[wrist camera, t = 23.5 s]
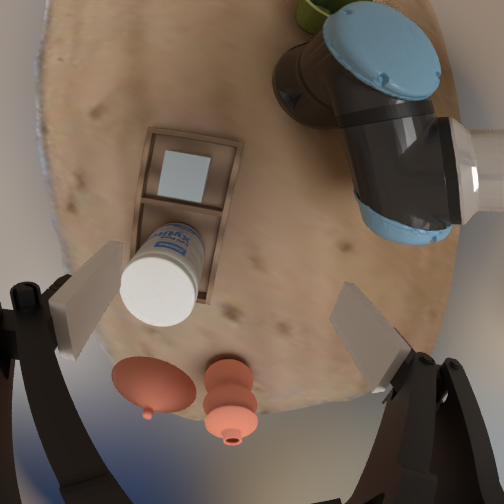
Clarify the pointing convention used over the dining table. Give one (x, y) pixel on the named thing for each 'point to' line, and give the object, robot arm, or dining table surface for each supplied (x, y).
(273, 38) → the dining table surface
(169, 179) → the slate block
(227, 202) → the caddy
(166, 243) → the supplement tub
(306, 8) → the plant pot
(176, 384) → the ceramic vessels
